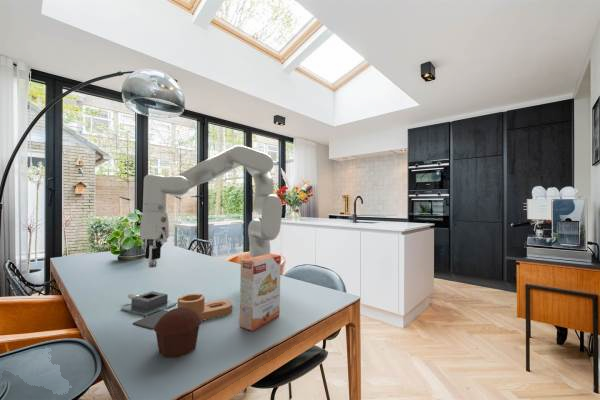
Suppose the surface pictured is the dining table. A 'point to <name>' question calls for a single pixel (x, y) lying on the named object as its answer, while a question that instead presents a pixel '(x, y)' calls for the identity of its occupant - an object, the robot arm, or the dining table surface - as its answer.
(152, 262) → the small bottle
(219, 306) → the bracket
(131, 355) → the dining table surface
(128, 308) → the chuck block
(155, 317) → the rubber mat
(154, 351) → the dining table surface
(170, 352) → the muffin
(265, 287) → the cracker box
